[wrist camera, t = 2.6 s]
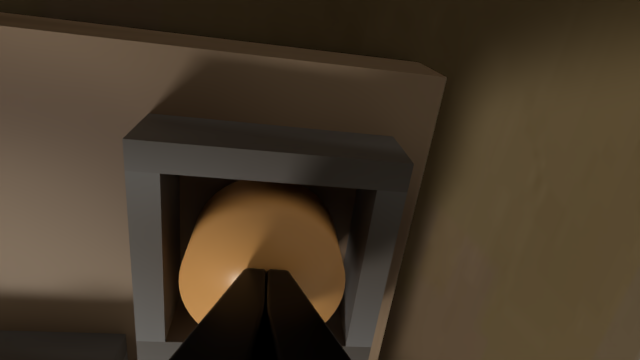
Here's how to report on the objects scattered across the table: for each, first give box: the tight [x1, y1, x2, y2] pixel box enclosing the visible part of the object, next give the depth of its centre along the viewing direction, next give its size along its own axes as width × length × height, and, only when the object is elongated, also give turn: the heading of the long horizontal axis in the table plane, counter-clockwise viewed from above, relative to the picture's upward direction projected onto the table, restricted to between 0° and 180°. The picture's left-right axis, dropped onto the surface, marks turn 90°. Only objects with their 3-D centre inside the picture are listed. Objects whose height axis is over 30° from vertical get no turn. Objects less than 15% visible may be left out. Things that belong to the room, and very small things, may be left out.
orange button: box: [179, 180, 345, 324], centre depth 9 cm, size 3×3×2 cm
